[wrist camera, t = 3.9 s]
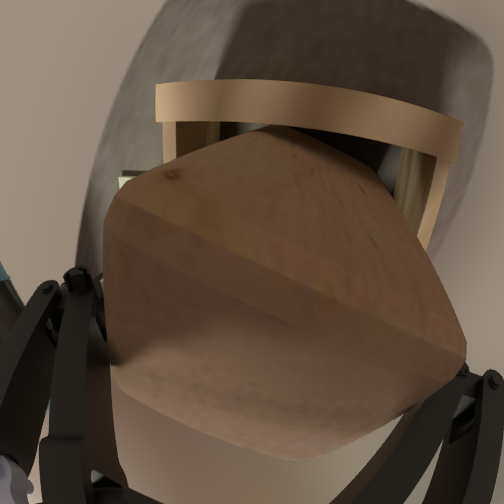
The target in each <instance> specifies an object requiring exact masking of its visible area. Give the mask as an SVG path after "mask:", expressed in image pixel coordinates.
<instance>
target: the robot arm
mask: <svg viewBox="0 0 504 504" xmlns="http://www.w3.org/2000/svg"><path fill="white" fill-rule="evenodd" d="M63 278H64V281H65V282H64V283H62V284H61V285H60V286H59V284H58V282H57V281H54V280H49V281H46V282H43V283H42V284H40V286H39V287H38V288H37V289H36V291H35V292H34V294H33V296H32V297H31V298H30V300H29V301H28V303H27V305H26V306H25V305H24V303H23V301H22V300H21V298H20V297H19V295H18V293H17V291H16V289H15V288H14V286H13V284H12V282H11V280H10V276H9V275H8V274H7V273H6V271H5V270H4V268H3V266H2V264H1V262H0V504H29V502H28V499H27V493H28V494H31V493H33V491H34V486H33V484H32V482H31V481H30V480H28V479H27V478H28V476H29V474H30V472H31V469H32V466H33V464H34V460H35V456H36V452H37V447H38V443H39V438H40V434H41V430H42V425H43V421H44V418H45V414H47V413H48V412H49V434H48V436H47V437H45V438H42V439H41V441H40V443H39V467H40V468H39V469H40V483H41V492H42V500H43V502H42V503H37V504H164V503H161V502H159V501H157V500H154V499H152V498H150V497H148V496H145V495H143V494H141V493H139V492H137V491H134V490H132V489H130V488H129V487H128V483H127V479H126V476H125V473H124V471H123V469H122V467H121V465H120V463H119V459H118V453H117V447H116V439H115V431H114V422H113V411H112V398H111V377H110V356H109V348H108V340H107V331H106V320H105V307H104V288H103V272H102V273H100V274H99V275H98V276H97V277H96V278H95V279H94V280H93V279H92V276H91V273H90V270H89V269H88V267H85V266H77V267H74V268H72V269H70V270H68V271H67V272H66V273H65V274H64V276H63ZM503 430H504V380H503V378H502V376H501V375H500V374H499V373H498V372H497V371H495V370H491V369H490V370H487V371H486V372H485V373H484V375H483V376H479V375H476V374H474V373H471V372H470V371H469V367H468V365H467V364H466V362H464V364H463V365H462V367H461V368H460V370H459V372H458V373H457V374H456V376H455V377H454V378H453V379H452V380H451V381H449V382H448V383H447V384H446V385H444V386H443V387H442V388H440V389H439V390H438V391H436V392H435V393H434V394H432V395H431V396H429V397H428V398H427V399H425V400H424V401H422V402H421V403H419V404H418V405H416V406H415V407H413V408H412V409H410V410H409V411H407V412H405V413H404V415H403V416H402V418H401V419H400V421H399V422H398V424H397V425H396V427H395V428H394V429H393V431H392V432H391V434H390V435H389V436H388V438H387V439H386V440H385V442H384V443H383V444H382V446H381V447H380V448H379V450H378V451H377V452H376V453H375V455H374V456H373V457H372V458H371V460H370V461H369V462H368V463H367V464H366V465H365V467H364V468H363V469H362V470H361V471H360V472H359V473H358V475H357V476H356V477H355V478H354V479H353V480H352V481H351V482H350V483H349V484H348V485H347V486H346V488H345V489H344V490H343V491H342V492H341V493H340V494H339V495H338V496H337V497H336V498H335V499H334V500H333V501H332V502H330V503H329V504H403V503H404V502H405V500H406V499H407V498H408V496H409V495H410V494H411V492H412V491H413V489H414V488H415V486H416V485H417V483H418V482H419V480H420V479H421V477H422V475H423V474H424V472H425V471H426V469H427V467H428V466H429V464H430V462H431V460H432V459H433V457H434V455H435V453H436V452H437V450H438V448H439V446H440V444H441V442H442V440H443V443H442V447H441V451H440V454H439V458H438V461H437V464H436V467H435V471H434V473H433V476H432V479H431V482H430V485H429V487H428V490H427V493H426V495H425V498H424V500H423V502H422V504H490V502H491V498H492V495H493V491H494V487H495V482H496V478H497V473H498V468H499V462H500V456H501V448H502V440H503ZM443 438H444V439H443Z"/></svg>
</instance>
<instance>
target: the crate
mask: <svg viewBox="0 0 504 504" xmlns="http://www.w3.org/2000/svg"><path fill="white" fill-rule="evenodd" d="M220 121H227V122H249V123H263V124H275V125H285V126H294V127H302V128H310V129H317V130H324V131H330V132H336V133H342V134H348V135H353V136H358V137H363V138H368V139H372V140H377V141H381V142H386V143H390V144H394V145H398V146H402V150H401V156H400V161H399V167H398V172H397V177H396V182H395V186H394V191H393V195H392V197H393V199H394V200H395V202H396V203H397V205H398V206H399V208H400V210H401V211H402V213H403V214H404V216H405V217H406V219H407V221H408V222H409V224H410V226H411V227H412V229H413V231H414V232H415V234H416V236H417V237H418V239H419V241H420V243H421V244H422V246H423V248H424V250H425V251H426V249H427V246H428V243H429V240H430V237H431V234H432V231H433V228H434V225H435V221H436V218H437V215H438V211H439V208H440V204H441V201H442V197H443V193H444V189H445V185H446V181H447V177H448V172H449V168H450V163H451V162H454V163H456V162H457V157H458V152H459V146H460V140H461V134H462V127H463V122H461V121H459V120H456V119H454V118H451V117H449V116H446V115H443V114H440V113H438V112H435V111H432V110H429V109H426V108H423V107H420V106H416V105H413V104H410V103H406V102H403V101H399V100H395V99H392V98H388V97H384V96H379V95H375V94H371V93H366V92H361V91H356V90H351V89H345V88H339V87H333V86H326V85H319V84H311V83H301V82H291V81H277V80H254V79H221V80H198V81H185V82H174V83H165V84H157V85H156V122H163V160H164V164H165V163H167V162H169V161H172V160H174V159H176V158H179V157H181V156H184V155H186V154H189V153H191V152H194V151H196V150H199V149H201V148H204V147H207V146H209V145H212V144H215V143H217V142H220Z"/></svg>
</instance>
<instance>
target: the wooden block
mask: <svg viewBox="0 0 504 504" xmlns="http://www.w3.org/2000/svg"><path fill="white" fill-rule="evenodd" d="M103 288H104V307H105V320H106V331H107V340H108V348H109V356H110V363H111V369H112V375H113V379H114V380H115V382H116V383H117V384H118V386H119V387H120V388H121V389H122V391H123V392H124V393H126V394H128V395H129V396H131V397H133V398H134V399H136V400H138V401H140V402H141V403H143V404H145V405H147V406H149V407H150V408H152V409H154V410H156V411H158V412H160V413H162V414H164V415H166V416H168V417H170V418H172V419H174V420H176V421H178V422H180V423H183V424H184V425H187V426H189V427H191V428H193V429H196V430H198V431H200V432H203V433H205V434H207V435H210V436H212V437H215V438H217V439H220V440H223V441H225V442H228V443H231V444H234V445H236V446H239V447H242V448H245V449H248V450H251V451H254V452H258V453H261V454H264V455H268V456H272V457H275V458H278V459H282V460H286V461H290V462H301V461H307V460H311V459H314V458H316V457H318V456H321V455H324V454H326V453H328V452H331V451H333V450H336V449H338V448H340V447H342V446H344V445H347V444H348V443H351V442H353V441H355V440H357V439H359V438H361V437H363V436H365V435H367V434H369V433H371V432H373V431H375V430H376V429H378V428H380V427H382V426H384V425H385V424H387V423H389V422H390V421H392V420H394V419H396V418H397V417H399V416H401V415H402V414H404V413H405V412H407V411H409V410H410V409H412V408H413V407H415V406H416V405H418V404H419V403H421V402H422V401H424V400H425V399H427V398H428V397H429V396H431V395H432V394H434V393H435V392H436V391H438V390H439V389H440V388H442V387H443V386H444V385H446V384H447V383H448V382H449V381H451V380H452V379H453V378H454V377H455V376H456V374H457V373H458V372H459V370H460V368H461V367H462V365H463V364H464V362H465V360H466V345H467V342H466V339H465V337H464V334H463V331H462V329H461V326H460V324H459V321H458V319H457V316H456V314H455V311H454V309H453V307H452V304H451V302H450V300H449V298H448V295H447V293H446V291H445V289H444V287H443V285H442V283H441V281H440V279H439V277H438V275H437V273H436V271H435V269H434V267H433V265H432V263H431V261H430V259H429V257H428V255H427V253H426V252H425V250H424V248H423V246H422V244H421V243H420V241H419V239H418V237H417V236H416V234H415V232H414V231H413V229H412V227H411V226H410V224H409V222H408V221H407V219H406V217H405V216H404V214H403V213H402V211H401V210H400V208H399V206H398V205H397V203H396V202H395V200H394V199H393V197H392V196H391V194H390V193H389V192H388V190H387V189H386V187H385V186H384V184H383V183H382V181H381V180H380V179H379V177H378V176H377V175H376V173H375V172H374V171H373V169H372V168H371V167H369V166H367V165H365V164H364V163H362V162H360V161H358V160H356V159H354V158H353V157H351V156H349V155H347V154H345V153H343V152H341V151H339V150H337V149H335V148H333V147H331V146H329V145H327V144H325V143H323V142H321V141H319V140H317V139H314V138H312V137H310V136H308V135H306V134H304V133H301V132H299V131H297V130H294V129H292V128H290V127H287V126H285V125H275V124H273V125H269V126H266V127H263V128H259V129H256V130H253V131H250V132H247V133H244V134H241V135H238V136H235V137H232V138H229V139H226V140H223V141H220V142H217V143H215V144H212V145H209V146H207V147H204V148H201V149H199V150H196V151H194V152H191V153H189V154H186V155H184V156H181V157H179V158H176V159H174V160H172V161H169V162H167V163H165V164H162V165H160V166H158V167H155V168H153V169H151V170H149V171H147V172H144V173H142V174H140V175H138V176H136V177H134V178H132V179H130V180H128V181H126V182H125V183H124V185H123V186H122V187H121V188H120V190H119V191H118V192H117V194H116V195H115V196H114V198H113V200H112V202H111V205H110V207H109V209H108V212H107V214H106V216H105V219H104V230H103Z"/></svg>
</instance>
